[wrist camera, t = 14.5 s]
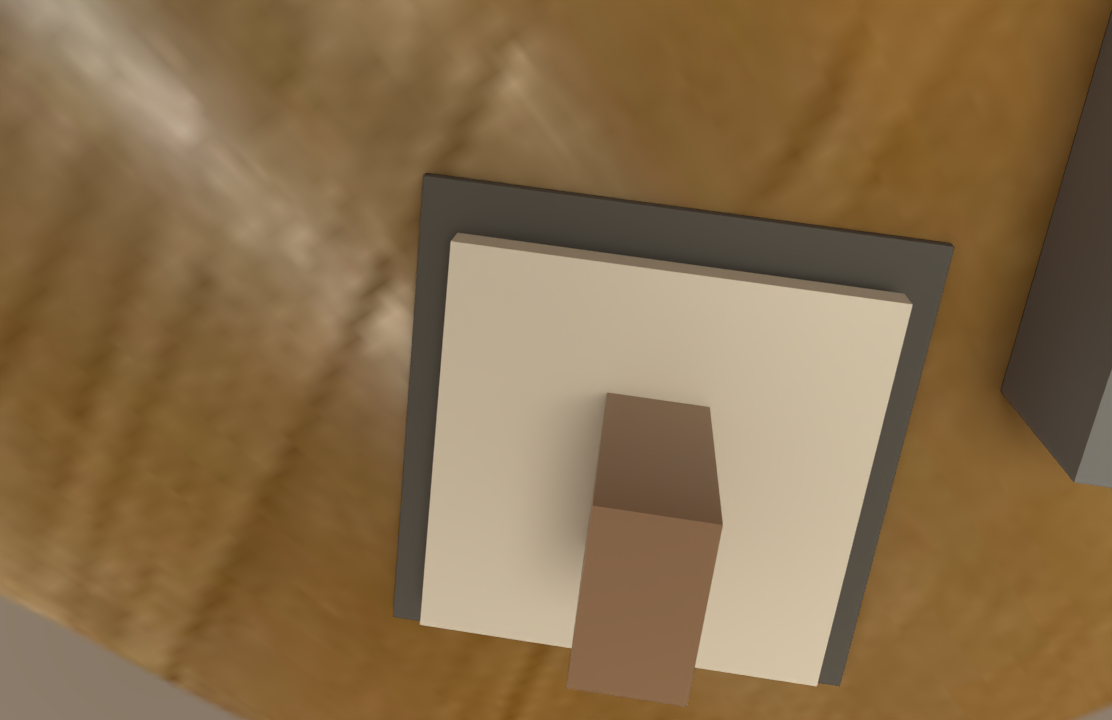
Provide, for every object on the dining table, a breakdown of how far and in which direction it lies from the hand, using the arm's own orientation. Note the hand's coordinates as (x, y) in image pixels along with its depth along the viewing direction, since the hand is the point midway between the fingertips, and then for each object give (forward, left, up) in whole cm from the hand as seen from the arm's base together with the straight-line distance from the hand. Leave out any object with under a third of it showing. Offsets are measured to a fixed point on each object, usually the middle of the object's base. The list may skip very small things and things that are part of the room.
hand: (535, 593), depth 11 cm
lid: (+2, -10, -25) cm, 27 cm away
